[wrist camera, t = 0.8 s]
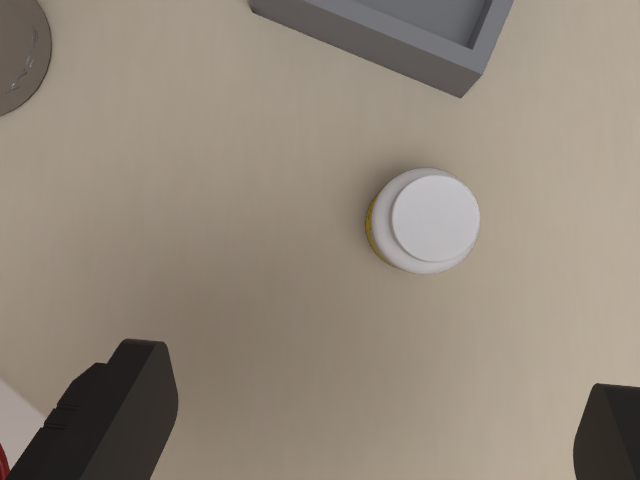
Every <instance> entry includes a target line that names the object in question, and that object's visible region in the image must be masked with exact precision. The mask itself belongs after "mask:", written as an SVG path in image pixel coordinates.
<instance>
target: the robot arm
mask: <svg viewBox="0 0 640 480" xmlns="http://www.w3.org/2000/svg"><path fill="white" fill-rule="evenodd" d="M50 52H51V38H50V30H49V26H48V23H47V20H46V17H45V14H44V12H43V11H42V9H41V7H40V6H39V4H38V3H37V1H36V0H0V115H3V114H5V113H7V112H9V111H11V110H14V109H16V108H17V107H18V106H20V105H21V104H22V103H23V102H25V101H26V100H27V99H28V98H29V97H30V96H31V95H32V94H33V93H34V91H35V90H36V89H37V88H38V86H39V85H40V83H41V81H42V79H43V77H44V75H45V74H46V70H47V67H48V64H49V60H50ZM177 411H178V392H177V388H176V383H175V379H174V374H173V370H172V365H171V361H170V356H169V352H168V348H167V346H166V344H165V343H164V342H159V341H149V340H138V339H125V340H123V341H122V342H121V343H120V345H119V346H118V347H117V349H116V351H115V352H114V354H113V355H112V357H111V358H110V360H109V361H108V363H107V364H105V363H95V364H94V365H92V366H91V367H90V368H89V369H87V370H86V371H85V372H84V373H82V374H81V375H80V376H78V377H77V378H76V379H75V380H73V381H72V383H71V384H70V386H69V387H68V388H67V390H66V391H65V393H64V394H63V396H62V397H61V399H60V400H59V402H58V403H57V407H56V409H55V408H54V409H53V410H52V412H51V413H50V415H49V416H48V417H47V419H46V420H45V422H44V426H43V428H40V429H39V431H38V432H37V433H36V435H35V436H34V438H33V439H32V441H31V442H30V444H29V445H28V446H27V448H26V449H25V451H24V452H23V454H22V455H21V457H20V458H19V459H18V461H17V462H16V464H15V465H14V467H13V468H12V470H11V471H10V472H9V474H8V475H7V477H6V478H5V480H150V478H151V475H152V473H153V471H154V469H155V466H156V464H157V462H158V460H159V458H160V455H161V453H162V451H163V449H164V446H165V444H166V442H167V440H168V438H169V435H170V433H171V431H172V429H173V426H174V424H175V420H176V417H177ZM573 461H574V470H575V475H576V479H577V480H640V387H632V386H621V385H610V384H599V383H597V384H595V385H594V386H593V387H592V390H591V392H590V395H589V398H588V401H587V404H586V407H585V410H584V413H583V416H582V419H581V422H580V425H579V427H578V430H577V433H576V436H575V440H574V447H573Z"/></svg>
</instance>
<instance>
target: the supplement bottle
mask: <svg viewBox="0 0 640 480" xmlns="http://www.w3.org/2000/svg"><path fill="white" fill-rule="evenodd" d="M479 228H480V211H479V207H478V203H477V201H476V199H475V197H474V195H473V194H472V192H471V191H470V190H469V189H468V188H467V186H466V185H465V184H464V183H463V182H462V181H461V180H459V179H458V178H457V177H455V176H454V175H452V174H450V173H448V172H446V171H443V170H440V169H435V168H417V169H412V170H409V171H406V172H403V173H402V174H400V175H398V176H396V177H395V178H394V179H392V180H391V181H390V182H388V183H387V184H386V185H385V187H384V188H383V189H382V190H381V191H380V192H379V193H378V195H377V196H376V197H375V198H374V200H373V201H372V203H371V205H370V207H369V209H368V212H367V216H366V234H367V238H368V241H369V243H370V246H371V247H372V249H373V250H374V252H375V253H376V254H377V255H378V256H379V257H380V258H381V259H382V260H384V261H385V262H386V263H388V264H390V265H392V266H394V267H397V268H399V269H402V270H404V271H407V272H410V273H415V274H436V273H440V272H443V271H446V270H449V269H451V268H453V267H454V266H456V265H457V264H459V263H460V262H461V261H462V260H463V259H464V258H465V257H466V256H467V255H468V254H469V253H470V251H471V250H472V248H473V246H474V244H475V242H476V240H477V237H478V234H479Z"/></svg>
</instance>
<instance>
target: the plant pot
mask: <svg viewBox="0 0 640 480" xmlns="http://www.w3.org/2000/svg"><path fill="white" fill-rule="evenodd" d="M9 472H10V469H9V466H8V462H7V458H6V455H5V453H4V450H3V448H2V446H1V444H0V480H5V478H6V477H7V475H8V474H9Z"/></svg>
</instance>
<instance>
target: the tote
mask: <svg viewBox="0 0 640 480" xmlns="http://www.w3.org/2000/svg"><path fill="white" fill-rule="evenodd" d="M513 1H514V0H249V3H250V6H251V9H252V12H253V13H255V14H258V15H260V16H263V17H265V18H267V19H270V20H272V21H275V22H277V23H280V24H282V25H284V26H287V27H289V28H292V29H294V30H297V31H299V32H301V33H304V34H306V35H309V36H311V37H313V38H316V39H318V40H321V41H323V42H326V43H328V44H330V45H333V46H335V47H338V48H340V49H342V50H345V51H347V52H350V53H352V54H355V55H357V56H359V57H362V58H364V59H367V60H369V61H372V62H374V63H376V64H379V65H381V66H384V67H386V68H388V69H391V70H393V71H396V72H398V73H401V74H403V75H405V76H408V77H410V78H413V79H415V80H417V81H420V82H422V83H425V84H427V85H430V86H432V87H434V88H437V89H439V90H442V91H444V92H447V93H449V94H451V95H454V96H456V97H459V98H461V97H462V96H463V95H464V94H465V93H466V92H467V91H468V90H469V89H470V88H471V87H472V86H473V85H474V83H475V82H476V81H477V80H478V79H479V78H480V77H481V76H482V75H483V73H484V70H485V68H486V65H487V63H488V61H489V58H490V56H491V54H492V51H493V49H494V46H495V44H496V42H497V39H498V37H499V35H500V32H501V30H502V27H503V25H504V23H505V20H506V18H507V15H508V13H509V11H510V8H511V6H512V4H513Z"/></svg>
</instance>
